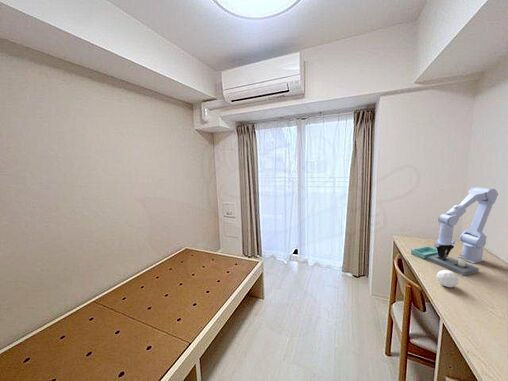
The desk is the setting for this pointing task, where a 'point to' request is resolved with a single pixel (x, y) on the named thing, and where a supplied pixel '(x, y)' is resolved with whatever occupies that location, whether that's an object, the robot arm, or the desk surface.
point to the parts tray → (424, 252)
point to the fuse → (461, 261)
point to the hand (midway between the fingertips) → (442, 256)
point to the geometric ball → (447, 278)
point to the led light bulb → (444, 256)
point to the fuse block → (453, 265)
